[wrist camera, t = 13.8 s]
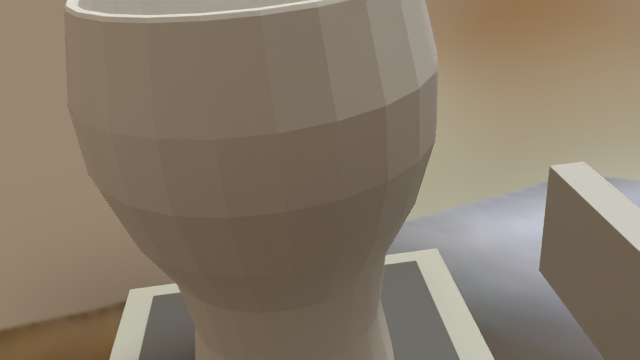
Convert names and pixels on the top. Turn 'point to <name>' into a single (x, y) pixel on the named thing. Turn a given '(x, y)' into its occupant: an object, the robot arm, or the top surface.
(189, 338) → the stand
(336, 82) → the cup
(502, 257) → the top surface
